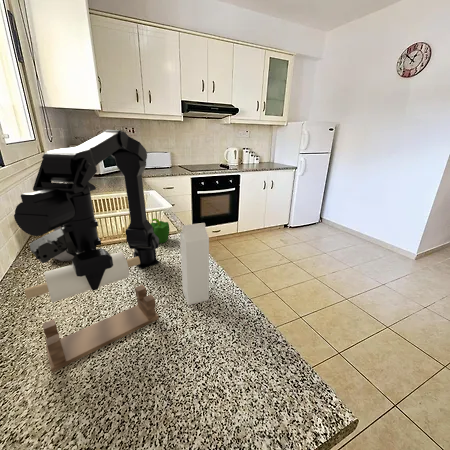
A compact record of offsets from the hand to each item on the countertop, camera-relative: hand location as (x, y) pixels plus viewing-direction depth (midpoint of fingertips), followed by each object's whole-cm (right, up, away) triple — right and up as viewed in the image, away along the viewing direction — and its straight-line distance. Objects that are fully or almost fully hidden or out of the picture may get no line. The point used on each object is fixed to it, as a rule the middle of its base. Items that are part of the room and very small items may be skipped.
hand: (91, 282), depth 53 cm
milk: (+22, -8, +14) cm, 27 cm away
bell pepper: (+3, +6, +47) cm, 47 cm away
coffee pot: (-22, 0, +31) cm, 39 cm away
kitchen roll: (0, +2, -1) cm, 2 cm away
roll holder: (+3, -12, +1) cm, 12 cm away
